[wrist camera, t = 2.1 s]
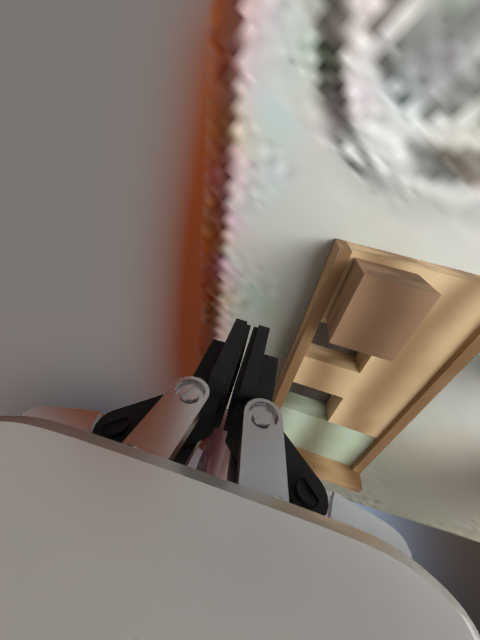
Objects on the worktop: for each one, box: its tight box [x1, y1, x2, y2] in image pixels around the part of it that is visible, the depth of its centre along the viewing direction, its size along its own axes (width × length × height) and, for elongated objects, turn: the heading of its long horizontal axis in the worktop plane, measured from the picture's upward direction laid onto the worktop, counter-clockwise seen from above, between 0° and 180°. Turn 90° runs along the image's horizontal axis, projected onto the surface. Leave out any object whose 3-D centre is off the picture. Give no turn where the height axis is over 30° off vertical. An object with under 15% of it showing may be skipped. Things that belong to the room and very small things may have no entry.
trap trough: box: [272, 239, 480, 492], centre depth 26 cm, size 14×28×6 cm, turn 169°
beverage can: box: [196, 411, 230, 480], centre depth 33 cm, size 6×6×15 cm
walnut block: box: [326, 258, 441, 362], centre depth 19 cm, size 5×6×4 cm
